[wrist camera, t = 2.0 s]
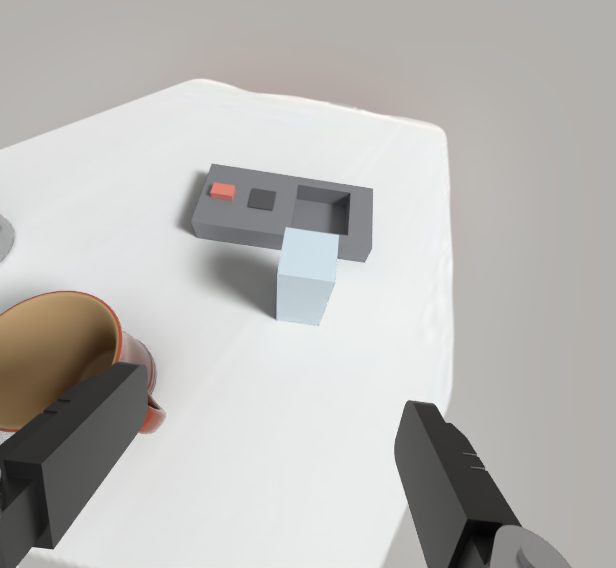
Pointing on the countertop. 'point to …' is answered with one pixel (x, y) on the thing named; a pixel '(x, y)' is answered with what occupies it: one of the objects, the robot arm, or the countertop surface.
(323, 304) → the block
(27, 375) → the mug
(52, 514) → the robot arm
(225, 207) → the power strip
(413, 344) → the countertop surface
